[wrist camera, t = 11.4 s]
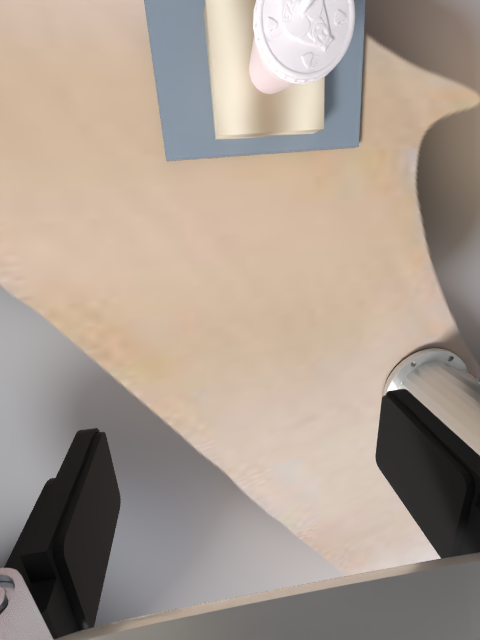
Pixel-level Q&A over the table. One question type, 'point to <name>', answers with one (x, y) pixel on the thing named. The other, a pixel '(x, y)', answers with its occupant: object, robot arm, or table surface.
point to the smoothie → (298, 41)
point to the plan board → (195, 92)
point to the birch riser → (237, 88)
